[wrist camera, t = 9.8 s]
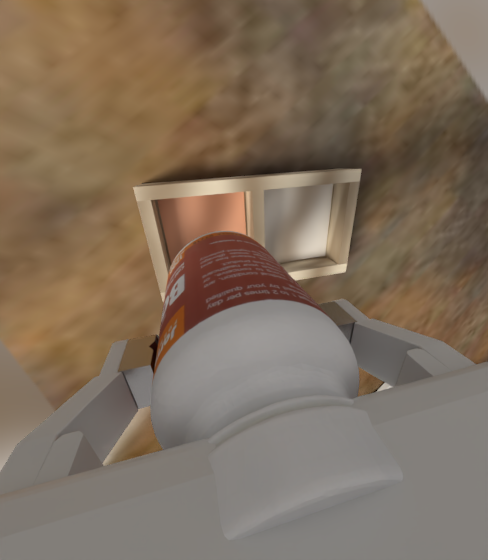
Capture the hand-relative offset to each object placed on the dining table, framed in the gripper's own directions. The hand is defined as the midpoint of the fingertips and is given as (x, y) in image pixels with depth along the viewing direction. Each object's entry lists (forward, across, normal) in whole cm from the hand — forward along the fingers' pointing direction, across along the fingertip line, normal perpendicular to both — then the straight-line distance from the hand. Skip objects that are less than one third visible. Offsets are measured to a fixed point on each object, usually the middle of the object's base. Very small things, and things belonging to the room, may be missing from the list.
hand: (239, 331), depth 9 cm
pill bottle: (+5, 0, 0) cm, 5 cm away
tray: (+16, +4, 0) cm, 16 cm away
